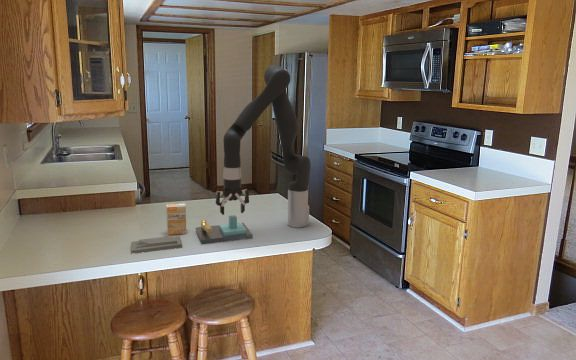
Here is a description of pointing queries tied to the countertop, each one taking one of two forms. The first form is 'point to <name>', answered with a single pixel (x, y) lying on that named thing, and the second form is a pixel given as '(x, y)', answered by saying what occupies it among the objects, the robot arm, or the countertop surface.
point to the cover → (232, 227)
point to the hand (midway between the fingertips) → (232, 213)
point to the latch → (205, 226)
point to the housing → (220, 235)
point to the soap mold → (156, 244)
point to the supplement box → (176, 219)
